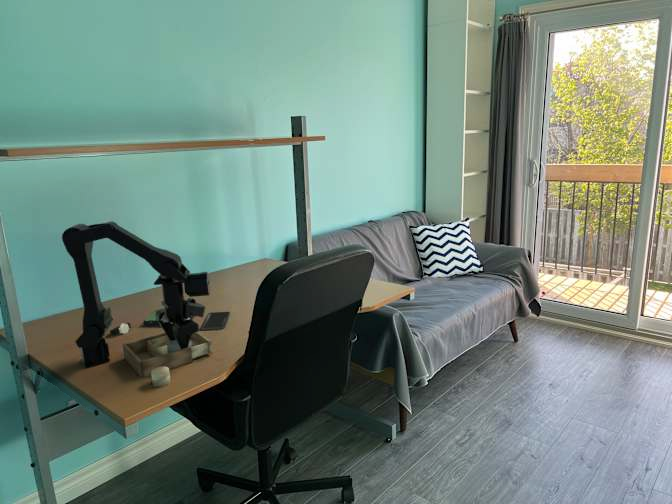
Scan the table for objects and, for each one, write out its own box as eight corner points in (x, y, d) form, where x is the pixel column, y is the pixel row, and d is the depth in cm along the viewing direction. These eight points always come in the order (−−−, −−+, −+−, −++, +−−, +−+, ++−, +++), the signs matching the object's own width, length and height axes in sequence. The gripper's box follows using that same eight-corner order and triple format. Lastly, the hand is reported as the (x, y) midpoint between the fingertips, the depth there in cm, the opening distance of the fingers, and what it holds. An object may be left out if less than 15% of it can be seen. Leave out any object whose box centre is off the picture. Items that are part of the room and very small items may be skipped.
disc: (196, 350, 146) (195, 344, 146) (172, 356, 142) (172, 350, 142) (186, 343, 152) (186, 337, 151) (163, 349, 147) (163, 342, 147)
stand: (156, 388, 127) (154, 376, 126) (150, 382, 130) (148, 370, 130) (173, 382, 130) (171, 370, 129) (166, 376, 133) (165, 364, 132)
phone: (199, 328, 164) (208, 312, 179) (200, 331, 164) (209, 315, 179) (224, 327, 164) (231, 311, 179) (224, 330, 165) (231, 314, 179)
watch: (117, 338, 161) (115, 327, 160) (106, 336, 162) (104, 326, 162) (135, 329, 168) (133, 319, 167) (124, 328, 169) (122, 318, 168)
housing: (142, 378, 133) (140, 362, 132) (124, 358, 145) (122, 344, 144) (192, 362, 141) (191, 347, 140) (171, 345, 153) (170, 331, 152)
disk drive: (196, 317, 179) (155, 317, 180) (195, 309, 178) (154, 309, 179) (186, 327, 169) (143, 327, 170) (185, 320, 168) (142, 320, 169)
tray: (165, 368, 137) (164, 354, 136) (147, 350, 148) (145, 338, 148) (215, 352, 146) (214, 340, 145) (194, 337, 157) (193, 325, 156)
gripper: (213, 299, 141) (218, 350, 144) (188, 284, 155) (192, 331, 159) (175, 308, 134) (181, 361, 138) (152, 292, 148) (158, 341, 152)
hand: (179, 348), depth 147 cm, fingers open, 8 cm apart
